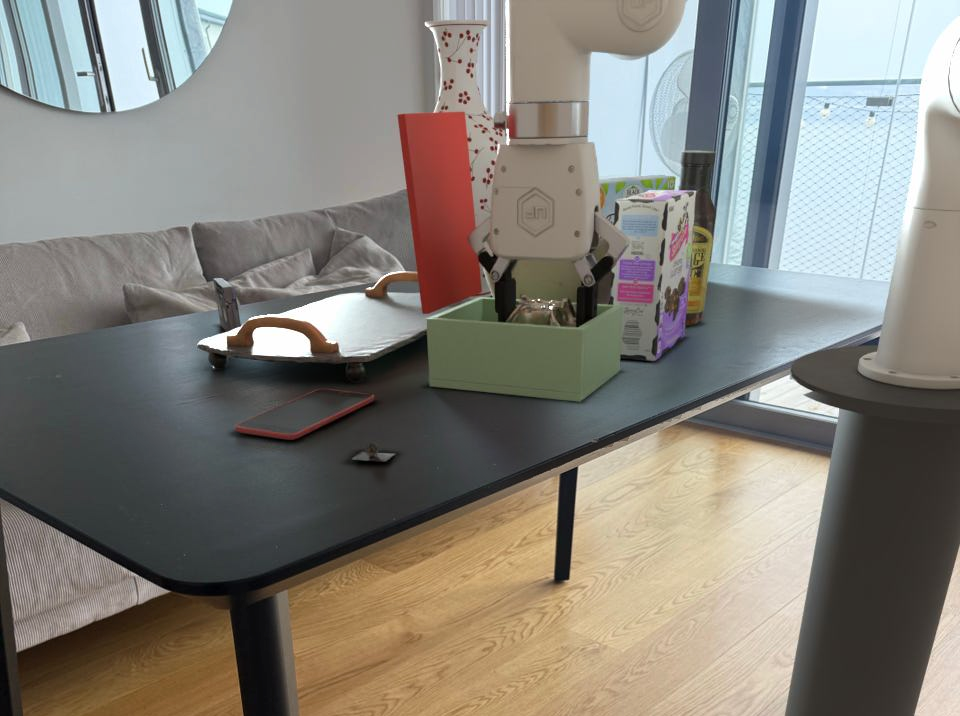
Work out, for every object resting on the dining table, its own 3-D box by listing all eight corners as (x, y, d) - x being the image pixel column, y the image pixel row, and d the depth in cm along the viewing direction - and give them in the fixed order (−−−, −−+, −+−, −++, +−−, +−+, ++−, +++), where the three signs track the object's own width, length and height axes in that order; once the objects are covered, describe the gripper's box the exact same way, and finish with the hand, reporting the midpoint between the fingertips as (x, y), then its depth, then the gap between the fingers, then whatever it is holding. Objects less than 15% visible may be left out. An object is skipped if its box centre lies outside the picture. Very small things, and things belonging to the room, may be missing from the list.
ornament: (595, 330, 93) (596, 293, 91) (561, 344, 88) (562, 304, 87) (528, 323, 97) (529, 287, 95) (493, 335, 92) (492, 297, 91)
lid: (465, 111, 92) (458, 112, 92) (404, 113, 82) (396, 114, 83) (482, 292, 100) (475, 292, 101) (429, 313, 90) (422, 314, 91)
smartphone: (378, 394, 89) (293, 435, 79) (379, 400, 90) (294, 441, 79) (319, 387, 92) (230, 426, 81) (320, 393, 92) (231, 432, 82)
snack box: (584, 291, 140) (588, 182, 132) (558, 287, 144) (560, 181, 136) (669, 274, 152) (677, 173, 145) (643, 271, 156) (649, 172, 148)
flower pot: (579, 359, 103) (583, 243, 97) (451, 341, 112) (447, 235, 106) (649, 329, 116) (656, 225, 109) (529, 316, 125) (530, 219, 119)
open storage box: (619, 371, 98) (623, 305, 94) (580, 402, 88) (582, 329, 85) (480, 359, 104) (479, 296, 101) (429, 386, 94) (426, 318, 91)
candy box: (656, 363, 101) (668, 198, 92) (605, 358, 103) (612, 198, 94) (686, 337, 111) (699, 187, 103) (639, 334, 113) (648, 187, 105)
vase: (522, 286, 146) (522, 23, 128) (511, 304, 132) (509, 14, 114) (424, 286, 148) (410, 28, 130) (403, 304, 134) (385, 19, 116)
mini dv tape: (242, 335, 118) (234, 286, 115) (230, 336, 118) (222, 287, 115) (231, 323, 125) (224, 277, 122) (220, 324, 125) (213, 278, 121)
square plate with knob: (362, 452, 77) (361, 437, 76) (395, 454, 76) (395, 439, 76) (350, 460, 74) (349, 445, 74) (385, 462, 74) (384, 447, 73)
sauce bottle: (650, 326, 117) (662, 152, 107) (658, 317, 122) (670, 149, 112) (702, 328, 115) (719, 151, 105) (707, 319, 120) (724, 149, 110)
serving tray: (354, 310, 131) (350, 264, 128) (502, 319, 123) (501, 270, 120) (178, 374, 101) (167, 316, 98) (359, 392, 93) (353, 330, 90)
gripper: (445, 128, 84) (452, 325, 93) (626, 125, 77) (615, 337, 86) (479, 126, 90) (483, 311, 99) (651, 123, 83) (638, 322, 92)
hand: (545, 322), depth 92 cm, fingers closed on ornament, 7 cm apart
